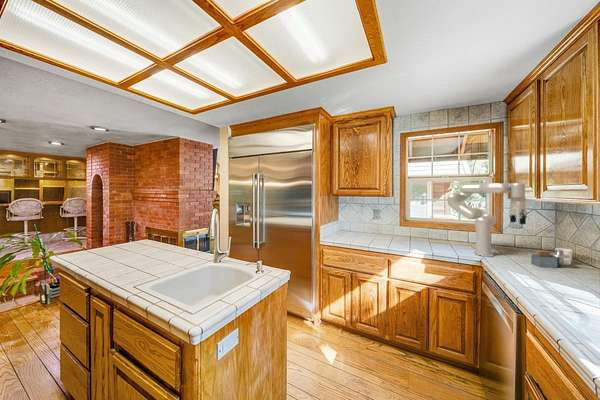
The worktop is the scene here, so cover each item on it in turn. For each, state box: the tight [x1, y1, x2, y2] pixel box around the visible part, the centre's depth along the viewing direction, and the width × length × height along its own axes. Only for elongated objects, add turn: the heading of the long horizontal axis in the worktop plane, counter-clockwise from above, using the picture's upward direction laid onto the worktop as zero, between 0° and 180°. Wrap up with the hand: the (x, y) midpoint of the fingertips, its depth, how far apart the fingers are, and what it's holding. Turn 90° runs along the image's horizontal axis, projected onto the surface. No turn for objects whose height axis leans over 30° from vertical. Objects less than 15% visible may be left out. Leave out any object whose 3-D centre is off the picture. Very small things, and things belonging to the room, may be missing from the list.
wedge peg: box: [536, 250, 551, 257], centre depth 153 cm, size 3×5×10 cm, turn 76°
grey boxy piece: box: [530, 250, 570, 269], centre depth 152 cm, size 9×18×11 cm, turn 76°
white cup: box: [554, 247, 573, 266], centre depth 157 cm, size 8×8×10 cm
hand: (517, 223), depth 163 cm, fingers open, 9 cm apart
